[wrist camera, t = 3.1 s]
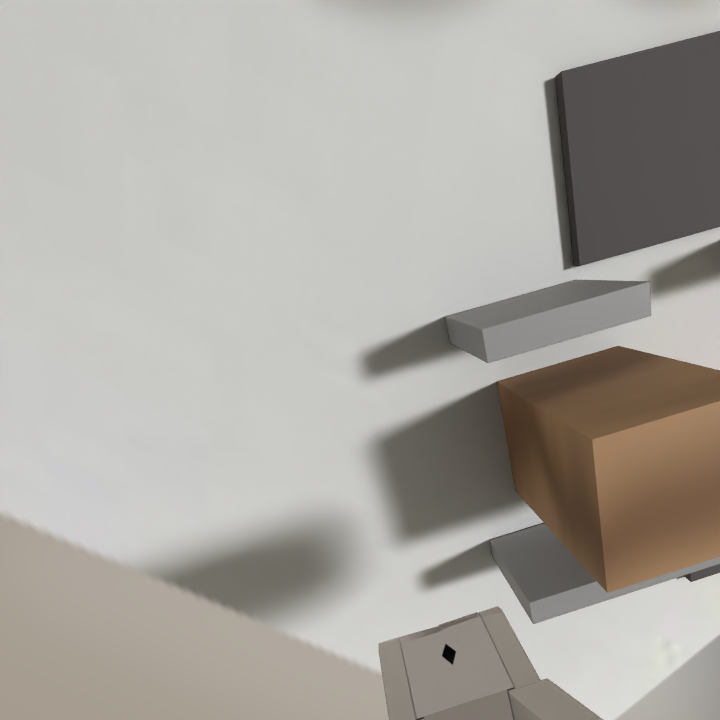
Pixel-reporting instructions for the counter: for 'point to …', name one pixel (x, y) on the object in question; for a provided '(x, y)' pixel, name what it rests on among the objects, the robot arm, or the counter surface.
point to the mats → (642, 151)
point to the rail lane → (522, 334)
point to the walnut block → (620, 460)
